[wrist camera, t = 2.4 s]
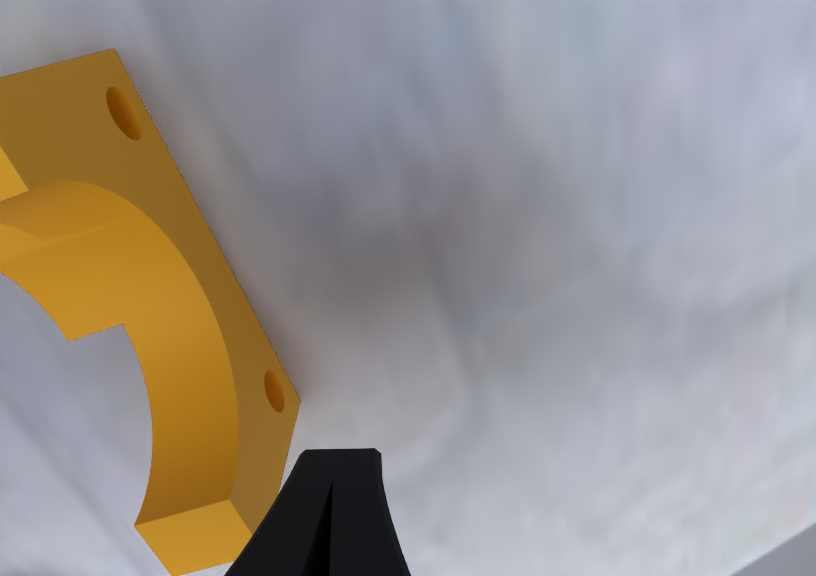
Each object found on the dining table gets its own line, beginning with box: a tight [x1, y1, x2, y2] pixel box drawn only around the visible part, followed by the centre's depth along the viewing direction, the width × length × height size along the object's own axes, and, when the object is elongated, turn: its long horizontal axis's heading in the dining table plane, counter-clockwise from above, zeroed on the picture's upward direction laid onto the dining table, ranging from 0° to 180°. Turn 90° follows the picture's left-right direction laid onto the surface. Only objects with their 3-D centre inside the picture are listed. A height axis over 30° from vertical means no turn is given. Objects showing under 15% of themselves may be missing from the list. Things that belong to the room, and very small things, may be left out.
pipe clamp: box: [0, 49, 301, 576], centre depth 16 cm, size 12×4×6 cm, turn 19°
